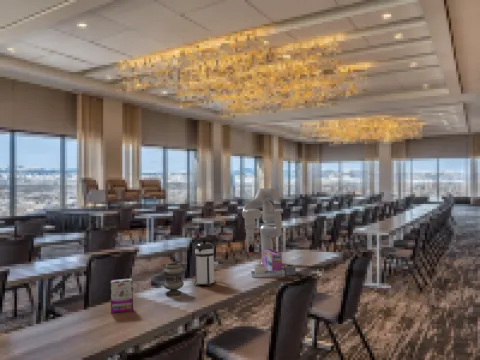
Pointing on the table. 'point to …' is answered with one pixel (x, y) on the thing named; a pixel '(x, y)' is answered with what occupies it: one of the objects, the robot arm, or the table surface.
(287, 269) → the square tube with block
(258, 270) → the crate
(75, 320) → the table surface
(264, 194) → the robot arm
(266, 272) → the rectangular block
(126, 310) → the candy bar box
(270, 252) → the gum box
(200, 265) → the coffee press
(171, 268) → the apothecary jar
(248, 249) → the handle peg
